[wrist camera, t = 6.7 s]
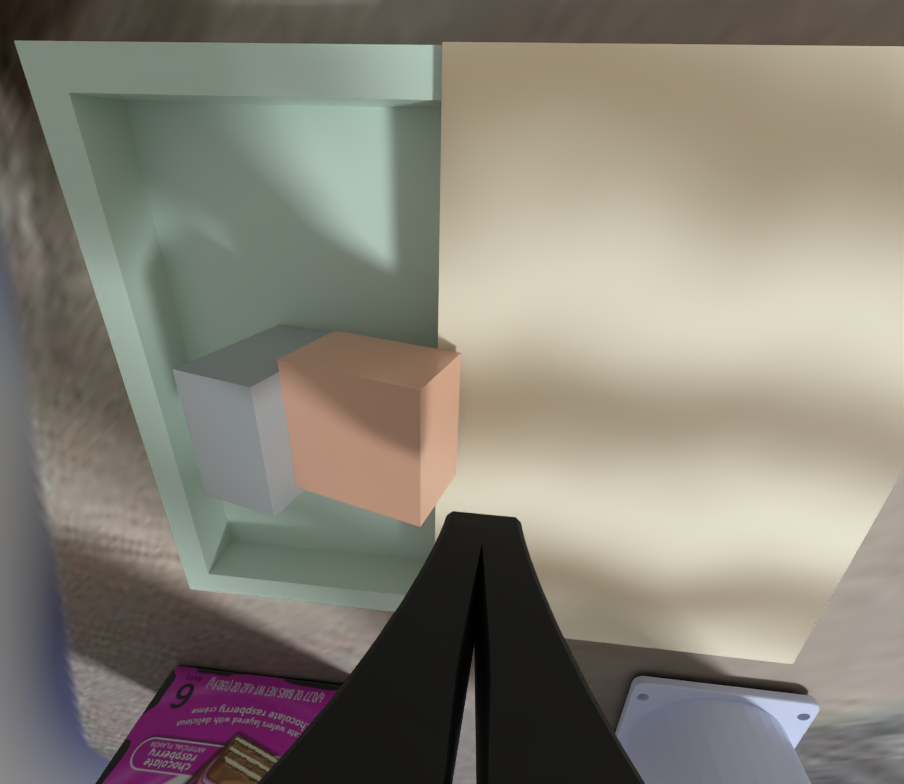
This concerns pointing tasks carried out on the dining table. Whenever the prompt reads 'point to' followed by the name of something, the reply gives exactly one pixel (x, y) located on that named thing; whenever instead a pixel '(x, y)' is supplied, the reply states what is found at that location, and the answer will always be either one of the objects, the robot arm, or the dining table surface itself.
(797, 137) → the birch plate
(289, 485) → the slate-grey block
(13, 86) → the dining table surface
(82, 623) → the dining table surface
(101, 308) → the sage tray
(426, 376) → the terracotta block
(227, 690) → the candy bar box
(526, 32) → the dining table surface
